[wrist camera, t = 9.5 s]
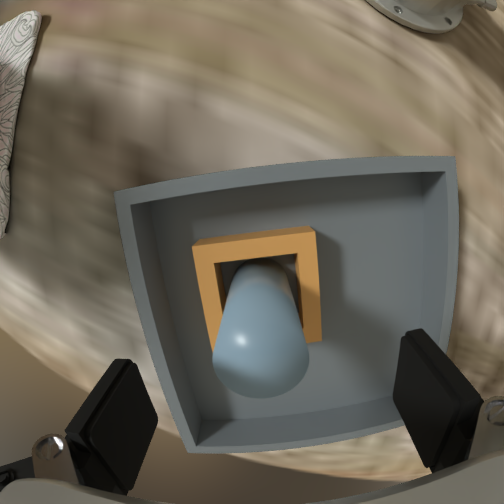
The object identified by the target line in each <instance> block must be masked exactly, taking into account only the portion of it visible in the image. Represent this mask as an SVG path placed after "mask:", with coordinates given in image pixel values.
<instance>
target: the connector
mask: <svg viewBox="0 0 504 504" xmlns="http://www.w3.org/2000/svg"><path fill="white" fill-rule="evenodd" d="M212 362H213V368H214V371H215V373H216V375H217V377H218V378H219V380H220V381H221V382H222V383H223V384H224V385H225V386H226V387H227V388H228V389H230V390H231V391H233V392H235V393H237V394H239V395H242V396H245V397H249V398H258V399H263V398H272V397H276V396H279V395H282V394H284V393H286V392H288V391H290V390H291V389H293V388H294V387H295V386H297V385H298V384H299V383H300V382H301V380H302V379H303V378H304V376H305V374H306V372H307V370H308V366H309V351H308V347H307V344H306V340H305V337H304V333H303V330H302V326H301V323H300V319H299V316H298V312H297V309H296V306H295V302H294V299H293V295H292V292H291V289H290V285H289V282H288V278H287V275H286V273H285V271H284V269H283V268H282V267H281V266H280V265H279V264H278V263H277V262H275V261H274V260H272V259H269V258H264V257H260V258H252V259H249V260H246V261H245V262H243V263H242V264H241V265H240V266H239V267H238V268H237V269H236V271H235V273H234V275H233V278H232V282H231V286H230V289H229V293H228V297H227V301H226V305H225V309H224V312H223V316H222V320H221V324H220V328H219V332H218V335H217V339H216V343H215V347H214V351H213V358H212Z"/></svg>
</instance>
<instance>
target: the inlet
mask: <svg viewBox="0 0 504 504" xmlns="http://www.w3.org/2000/svg"><path fill="white" fill-rule="evenodd" d="M192 251H193V256H194V262H195V268H196V273H197V279H198V284H199V289H200V295H201V300H202V305H203V310H204V315H205V320H206V324H207V329H208V334H209V339H210V343H211V348H212V352H213V351H214V347H215V343H216V339H217V335H218V332H219V328H220V324H221V320H222V316H223V312H224V309H225V305H226V295H225V289H224V283H223V277H222V271H221V265H220V262H227V261H235V260H243V259H252V258H260V257H268V256H277V255H285V254H293V253H294V258H295V269H296V280H297V291H298V303H299V313H298V316H299V319H300V323H301V326H302V330H303V333H304V337H305V340H306V343H311V342H318V341H322V329H321V307H320V289H319V273H318V259H317V247H316V235H315V231H314V230H313V229H312V228H311V227H310V226H301V227H292V228H284V229H276V230H267V231H259V232H251V233H243V234H235V235H227V236H219V237H211V238H204V239H199V240H198V241H197V242H196V243H195V244H194V245H193V246H192Z"/></svg>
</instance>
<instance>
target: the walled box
mask: <svg viewBox="0 0 504 504" xmlns="http://www.w3.org/2000/svg"><path fill="white" fill-rule="evenodd" d="M114 198H115V205H116V211H117V217H118V223H119V229H120V234H121V239H122V245H123V250H124V254H125V259H126V264H127V268H128V273H129V277H130V282H131V286H132V290H133V294H134V298H135V302H136V306H137V309H138V313H139V317H140V320H141V324H142V328H143V331H144V334H145V338H146V341H147V345H148V348H149V351H150V354H151V357H152V360H153V363H154V367H155V370H156V372H157V375H158V378H159V381H160V384H161V387H162V390H163V392H164V395H165V398H166V401H167V403H168V406H169V409H170V411H171V414H172V416H173V419H174V421H175V424H176V426H177V429H178V431H179V433H180V436H181V438H182V441H183V443H184V445H185V447H186V450H187V452H188V453H246V452H262V451H275V450H285V449H293V448H301V447H309V446H315V445H322V444H327V443H333V442H338V441H344V440H348V439H353V438H358V437H362V436H366V435H371V434H375V433H379V432H382V431H386V430H390V429H393V428H397V427H400V426H404V425H405V424H404V422H403V420H402V418H401V416H400V414H399V412H398V410H397V408H396V406H395V404H394V401H393V389H394V383H395V377H396V371H397V364H398V357H399V349H400V341H401V337H402V336H405V333H406V332H407V331H410V330H414V329H419V328H422V329H423V330H424V331H425V332H426V333H427V334H428V335H429V336H430V337H431V338H432V340H433V341H434V342H435V343H436V344H437V345H438V346H439V347H440V348H441V350H442V351H443V352H444V353H445V354H446V353H447V348H448V343H449V337H450V331H451V325H452V318H453V311H454V303H455V294H456V283H457V270H458V251H459V202H458V184H457V171H456V160H455V156H391V157H364V158H346V159H331V160H318V161H306V162H296V163H286V164H276V165H268V166H259V167H251V168H243V169H236V170H229V171H222V172H215V173H209V174H203V175H197V176H191V177H185V178H179V179H173V180H168V181H163V182H158V183H152V184H147V185H142V186H138V187H133V188H128V189H124V190H119V191H115V192H114ZM301 226H310V227H311V228H312V229H313V230H314V231H315V235H316V247H317V259H318V273H319V289H320V307H321V329H322V341H318V342H311V343H306V344H307V347H308V351H309V366H308V370H307V372H306V374H305V376H304V378H303V379H302V380H301V382H300V383H299V384H298V385H297V386H295V387H294V388H293V389H291V390H290V391H288V392H286V393H284V394H282V395H279V396H276V397H272V398H263V399H258V398H249V397H245V396H242V395H239V394H237V393H235V392H233V391H231V390H230V389H228V388H227V387H226V386H225V385H224V384H223V383H222V382H221V381H220V380H219V378H218V377H217V375H216V373H215V371H214V368H213V362H212V358H213V352H212V348H211V343H210V339H209V334H208V329H207V324H206V320H205V315H204V310H203V305H202V300H201V295H200V289H199V284H198V279H197V273H196V268H195V262H194V256H193V251H192V246H193V245H194V244H195V243H196V242H197V241H198V240H199V239H204V238H211V237H219V236H227V235H235V234H243V233H251V232H259V231H267V230H276V229H284V228H292V227H301ZM264 258H269V259H272V260H274V261H275V262H277V263H278V264H279V265H280V266H281V267H282V268H283V269H284V271H285V273H286V275H287V278H288V282H289V285H290V289H291V292H292V295H293V299H294V302H295V306H296V309H297V312H298V313H299V303H298V291H297V280H296V269H295V258H294V253H293V254H285V255H277V256H268V257H264ZM246 260H249V259H243V260H235V261H227V262H220V265H221V271H222V277H223V283H224V289H225V295H226V301H227V297H228V293H229V289H230V286H231V282H232V278H233V275H234V273H235V271H236V269H237V268H238V267H239V266H240V265H241V264H242V263H243V262H245V261H246Z"/></svg>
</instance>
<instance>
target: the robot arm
mask: <svg viewBox="0 0 504 504" xmlns="http://www.w3.org/2000/svg"><path fill="white" fill-rule="evenodd" d="M366 1H367V2H368V3H370V4H371V5H372V6H373V7H375V8H376V9H377V10H379V11H380V12H382V13H383V14H385V15H386V16H388V17H389V18H391V19H393V20H395V21H397V22H398V23H400V24H402V25H405V26H407V27H410V28H412V29H414V30H418V31H422V32H425V33H433V34H439V33H445V32H448V31H451V30H452V29H453V28H455V27H456V26H458V24H459V23H460V22H461V20H462V17H463V6H464V5H465V4H469V5H474V4H477V5H478V6H479V7H482V8H484V9H487V10H489V11H495V10H496V8H497V2H496V0H366ZM393 401H394V404H395V406H396V408H397V410H398V412H399V414H400V416H401V418H402V420H403V422H404V424H405V426H406V428H407V430H408V432H409V434H410V436H411V439H412V441H413V443H414V445H415V447H416V449H417V451H418V454H419V456H420V458H421V460H422V462H423V464H424V466H425V467H426V468H428V467H429V468H430V470H431V472H432V474H429V475H426V476H423V477H420V478H417V479H414V480H411V481H408V482H405V483H401V484H398V485H395V486H392V487H388V488H384V489H381V490H377V491H373V492H368V493H364V494H360V495H355V496H351V497H345V498H340V499H334V500H329V501H322V502H315V503H307V504H504V397H502V396H495V397H491V398H489V399H487V400H486V401H485V402H484V400H483V399H482V398H481V396H480V395H479V393H478V392H477V391H476V390H475V388H474V387H473V386H472V385H471V383H470V382H469V381H468V380H467V379H466V377H465V376H464V375H463V374H462V373H461V372H460V370H459V369H458V368H457V367H456V366H455V365H454V363H453V362H452V361H451V360H450V359H449V358H448V356H447V355H446V354H445V353H444V352H443V351H442V350H441V348H440V347H439V346H438V345H437V344H436V343H435V342H434V341H433V340H432V338H431V337H430V336H429V335H428V334H427V333H426V332H425V331H424V330H423V329H422V328H419V329H414V330H410V331H407V332H406V333H405V336H402V337H401V341H400V349H399V357H398V364H397V371H396V377H395V383H394V389H393ZM157 423H158V416H157V413H156V411H155V409H154V407H153V404H152V402H151V400H150V397H149V395H148V392H147V390H146V387H145V385H144V382H143V380H142V377H141V375H140V372H139V369H138V367H137V365H136V364H135V363H133V362H132V361H131V360H130V359H115V360H114V361H113V362H112V364H111V365H110V366H109V368H108V369H107V370H106V372H105V373H104V375H103V376H102V377H101V379H100V380H99V382H98V383H97V384H96V386H95V387H94V389H93V390H92V391H91V393H90V394H89V396H88V397H87V399H86V400H85V402H84V403H83V404H82V406H81V407H80V409H79V410H78V412H77V413H76V414H75V416H74V417H73V419H72V420H71V422H70V423H69V425H68V426H67V428H66V429H65V432H66V434H67V435H66V437H65V438H64V437H63V436H61V435H58V434H48V435H45V436H43V437H41V438H40V439H38V440H37V441H36V442H35V444H34V445H33V448H32V457H28V458H26V459H23V460H19V461H16V462H13V463H10V464H7V465H4V466H1V467H0V504H173V503H165V502H158V501H151V500H145V499H140V498H135V497H129V496H127V493H128V491H129V490H132V489H133V487H134V484H135V481H136V479H137V476H138V473H139V471H140V468H141V465H142V463H143V460H144V457H145V455H146V452H147V450H148V447H149V444H150V442H151V439H152V437H153V434H154V431H155V429H156V426H157Z"/></svg>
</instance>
